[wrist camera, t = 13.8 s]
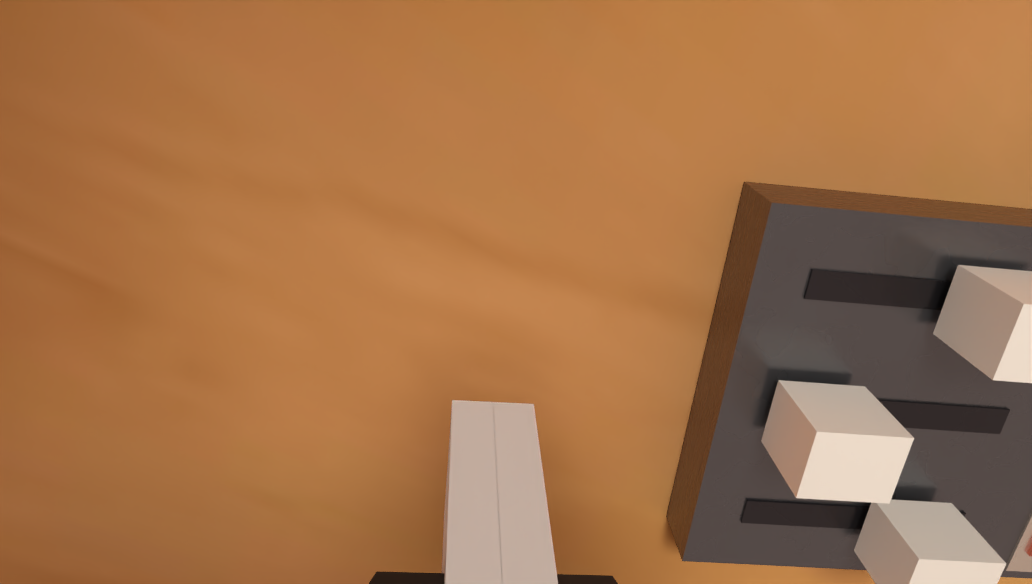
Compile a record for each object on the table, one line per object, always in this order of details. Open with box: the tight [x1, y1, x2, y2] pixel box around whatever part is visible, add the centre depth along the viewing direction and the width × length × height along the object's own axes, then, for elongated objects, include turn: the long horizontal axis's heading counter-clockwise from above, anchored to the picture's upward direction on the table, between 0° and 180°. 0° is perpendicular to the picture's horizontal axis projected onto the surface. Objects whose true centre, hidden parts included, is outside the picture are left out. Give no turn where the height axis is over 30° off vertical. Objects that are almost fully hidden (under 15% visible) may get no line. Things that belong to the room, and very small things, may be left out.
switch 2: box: [854, 499, 1006, 584], centre depth 26 cm, size 2×3×3 cm
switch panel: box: [667, 182, 1032, 578], centre depth 27 cm, size 14×18×3 cm
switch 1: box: [761, 380, 914, 504], centre depth 23 cm, size 2×3×3 cm
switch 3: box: [933, 265, 1032, 383], centre depth 22 cm, size 2×3×3 cm
